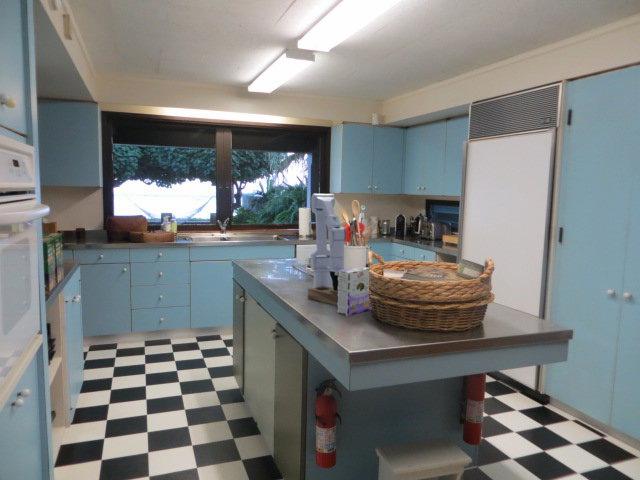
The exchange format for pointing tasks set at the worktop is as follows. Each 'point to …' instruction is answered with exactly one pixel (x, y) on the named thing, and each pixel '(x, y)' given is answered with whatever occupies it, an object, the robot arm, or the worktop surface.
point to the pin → (334, 290)
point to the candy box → (353, 291)
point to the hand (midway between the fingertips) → (336, 289)
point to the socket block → (323, 294)
